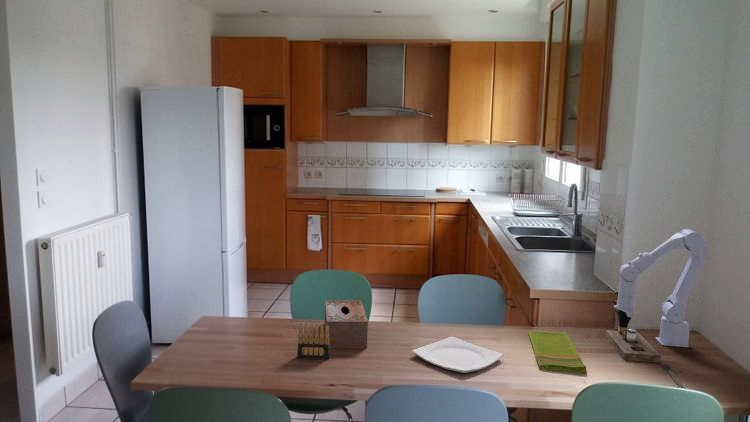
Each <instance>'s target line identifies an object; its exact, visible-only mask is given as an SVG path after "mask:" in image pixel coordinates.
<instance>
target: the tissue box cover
mask: <svg viewBox="0 0 750 422" xmlns="http://www.w3.org/2000/svg"><path fill="white" fill-rule="evenodd" d="M327 324H328V326H329V349H367V348H368V333H369V332H368V331H369V330H368V329H369V320H368V317H367V314H366V310H365V307H364V303H363V301H362V300H359V299H358V300H353V299H352V300H350V299H348V300H347V299H346V300H344V299H343V300H342V299H341V300H339V299H336V300H334V299H326V300H324V324H323V325H324V330H325V329H326V325H327Z"/></svg>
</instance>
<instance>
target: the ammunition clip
mask: <svg viewBox="0 0 750 422" xmlns="http://www.w3.org/2000/svg"><path fill="white" fill-rule="evenodd" d="M307 323H308V322H306V323H305V325H304V331H303V323H302V322H300V323H299V327H298V333H297V334H298V335H297V354H296V359H307V360H308V359H309V360H310V359H311V360H330V348H329V326H328V324H327V325H326V329H325V326H324V324H323V323H321V324H320V328H319V324H318V323H316V324H315V326H314V325H313V323H310V326H309V327H308V324H307ZM314 327H315V328H314Z"/></svg>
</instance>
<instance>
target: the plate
mask: <svg viewBox="0 0 750 422" xmlns="http://www.w3.org/2000/svg"><path fill="white" fill-rule="evenodd" d="M411 352H412V353H413V354H414V355H415V356H417V357H419V358H420V359H421V360H424V361H426V362H427V363H430V364H432V365H435V366H438V367H440V368H442V369H446V370H449V371H453V372H458V373H461V374H466V373H472V372H476V371H479V370H483V369H485V368H487V367H489V366H491V365H494V363H496V362H497V361H498V360H499V359H501V358H502V357H503V356H504V353H502V352H499V351H496V350H495V351H494V350H492V349H488V348H485V347H483V346H478V345H477V344H474V343H471V342H468V341H465V340H464V339H460V338H457V337H455V336H449V337H446V338H443V339H441V340H438V341H435V342H432V343H430V344H427V345H424V346H421V347H418V348H414V349H412V350H411Z"/></svg>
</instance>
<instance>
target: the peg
mask: <svg viewBox="0 0 750 422" xmlns="http://www.w3.org/2000/svg"><path fill="white" fill-rule="evenodd" d="M636 332H637V329H636V328H634V327H633V328H632V327H629V328H628V329H627V341H626V343H635V341H636ZM637 333H638V332H637Z"/></svg>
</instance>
